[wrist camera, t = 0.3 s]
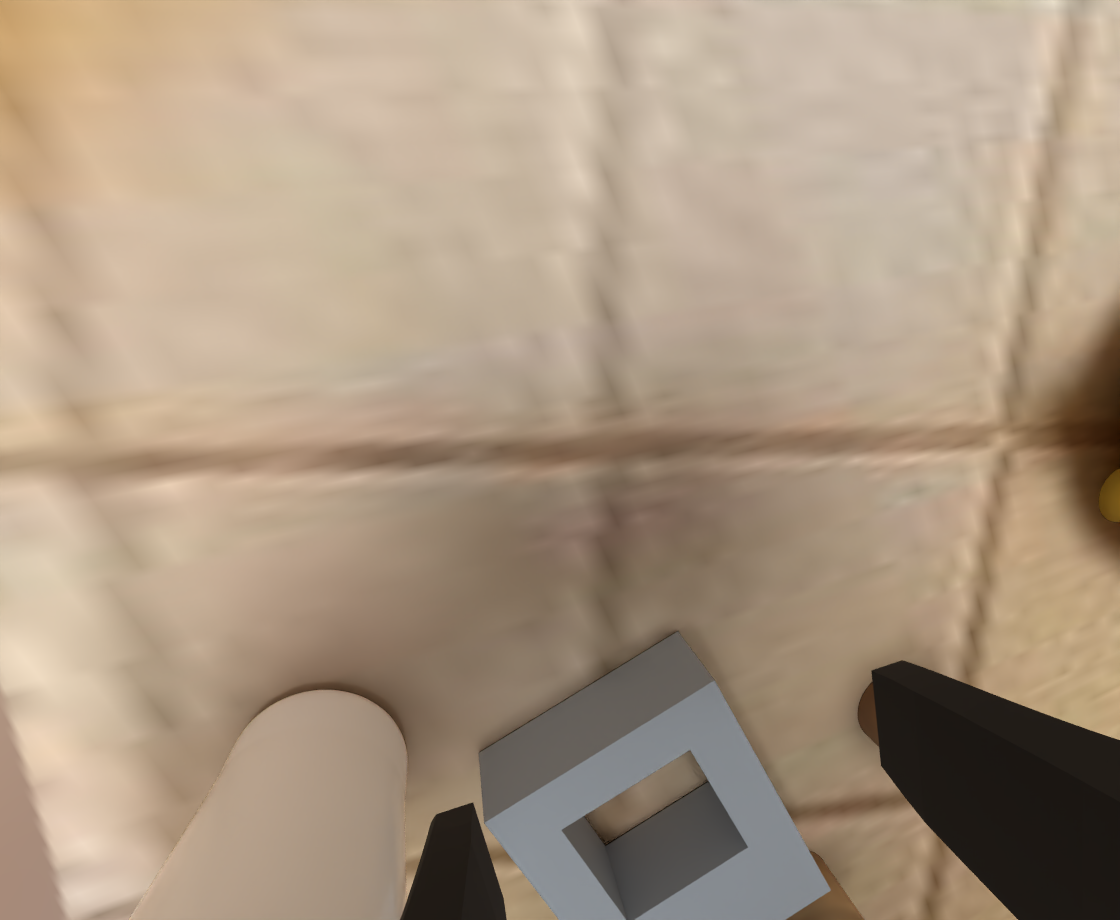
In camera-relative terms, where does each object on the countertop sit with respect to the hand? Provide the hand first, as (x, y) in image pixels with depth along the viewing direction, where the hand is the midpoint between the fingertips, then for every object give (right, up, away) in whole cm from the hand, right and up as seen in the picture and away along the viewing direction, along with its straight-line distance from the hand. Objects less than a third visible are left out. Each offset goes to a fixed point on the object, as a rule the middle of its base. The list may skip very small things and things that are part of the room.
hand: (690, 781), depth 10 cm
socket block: (+1, -7, +12) cm, 14 cm away
